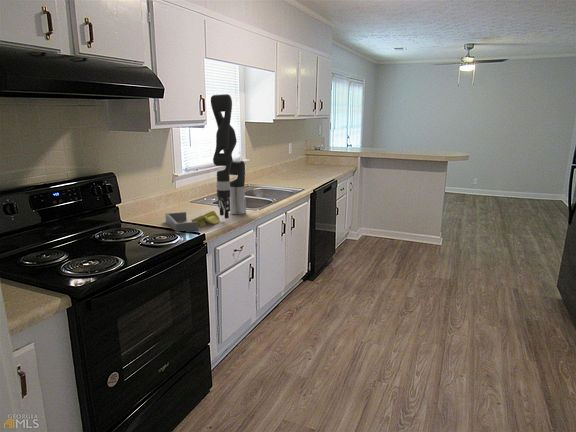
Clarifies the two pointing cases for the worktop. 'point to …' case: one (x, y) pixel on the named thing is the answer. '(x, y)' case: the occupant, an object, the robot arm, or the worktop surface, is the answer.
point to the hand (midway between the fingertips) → (224, 216)
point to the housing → (181, 216)
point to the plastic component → (207, 218)
